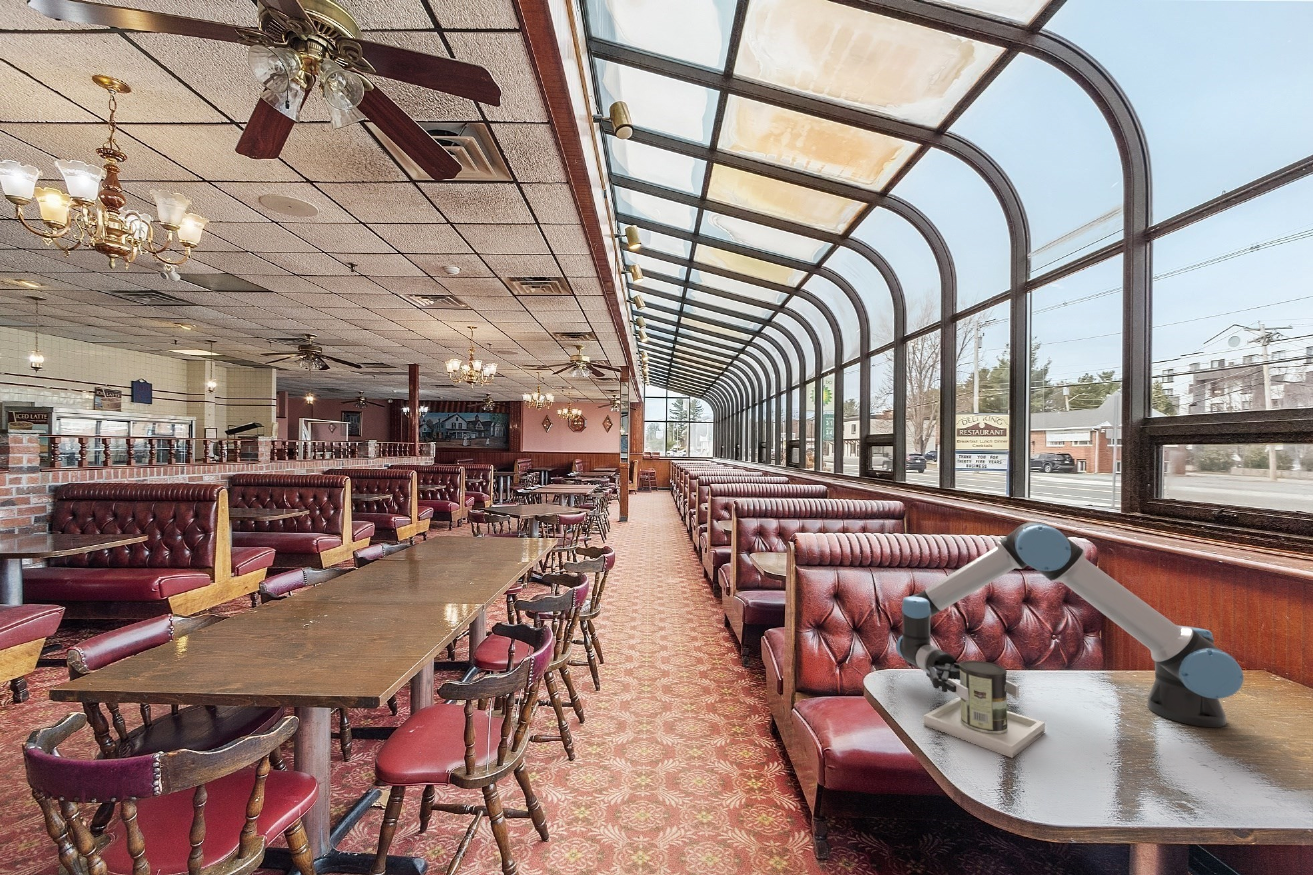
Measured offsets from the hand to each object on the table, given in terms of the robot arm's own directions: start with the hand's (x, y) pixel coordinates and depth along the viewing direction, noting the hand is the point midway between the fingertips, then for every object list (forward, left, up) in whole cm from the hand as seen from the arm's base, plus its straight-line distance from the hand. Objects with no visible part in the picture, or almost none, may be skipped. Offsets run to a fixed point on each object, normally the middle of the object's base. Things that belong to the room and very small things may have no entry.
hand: (992, 693), depth 138 cm
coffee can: (+3, -2, -9) cm, 10 cm away
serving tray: (+3, -2, -10) cm, 11 cm away
